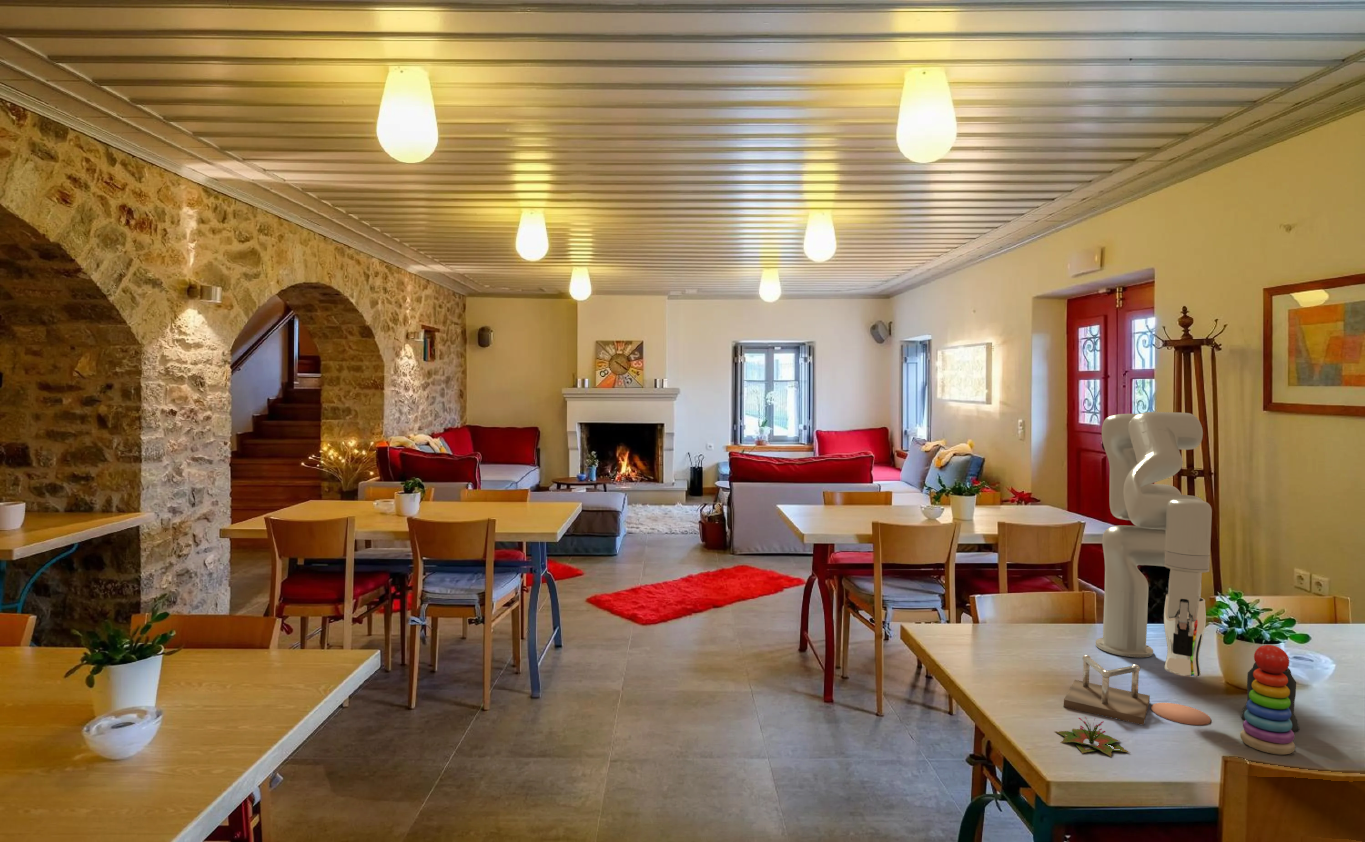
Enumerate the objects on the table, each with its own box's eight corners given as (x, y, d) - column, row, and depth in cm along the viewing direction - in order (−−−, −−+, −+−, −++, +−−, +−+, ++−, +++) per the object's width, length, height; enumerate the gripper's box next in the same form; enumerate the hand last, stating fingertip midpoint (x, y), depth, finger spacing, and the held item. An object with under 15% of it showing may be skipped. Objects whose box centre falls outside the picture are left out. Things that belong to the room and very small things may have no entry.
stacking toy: (1228, 737, 141) (1233, 638, 141) (1268, 736, 142) (1272, 638, 141) (1265, 757, 133) (1269, 652, 133) (1306, 756, 134) (1311, 652, 133)
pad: (1153, 700, 158) (1153, 698, 158) (1211, 712, 152) (1211, 711, 152) (1149, 715, 150) (1149, 714, 150) (1210, 729, 144) (1210, 728, 144)
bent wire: (1082, 684, 162) (1083, 653, 162) (1139, 696, 156) (1140, 664, 156) (1074, 698, 154) (1076, 665, 154) (1134, 711, 148) (1136, 677, 148)
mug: (1299, 737, 142) (1302, 678, 141) (1239, 723, 147) (1241, 666, 147) (1299, 717, 151) (1301, 662, 150) (1242, 705, 157) (1245, 651, 156)
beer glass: (1210, 679, 147) (1213, 603, 146) (1170, 675, 148) (1173, 600, 148) (1193, 667, 153) (1196, 594, 153) (1155, 664, 155) (1158, 591, 154)
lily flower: (1078, 761, 131) (1079, 735, 131) (1041, 730, 143) (1042, 707, 143) (1144, 760, 132) (1145, 735, 132) (1102, 730, 144) (1103, 707, 144)
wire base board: (1074, 686, 165) (1074, 679, 165) (1149, 702, 157) (1149, 695, 157) (1063, 706, 154) (1063, 699, 153) (1143, 725, 145) (1143, 717, 145)
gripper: (1167, 552, 159) (1163, 636, 160) (1161, 565, 145) (1158, 657, 146) (1210, 557, 155) (1206, 643, 155) (1209, 571, 141) (1205, 666, 141)
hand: (1183, 649), depth 151 cm, fingers closed on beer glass, 6 cm apart
